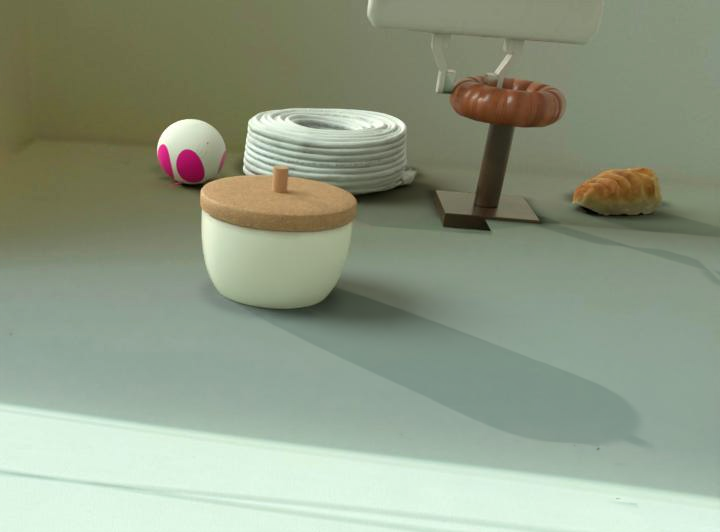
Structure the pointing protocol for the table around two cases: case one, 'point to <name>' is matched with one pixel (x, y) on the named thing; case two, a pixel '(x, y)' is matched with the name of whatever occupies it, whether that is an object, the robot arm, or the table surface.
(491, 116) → the ring
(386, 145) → the cable
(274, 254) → the trinket box
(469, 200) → the stand
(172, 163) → the stress ball
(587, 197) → the pastry
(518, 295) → the table surface
